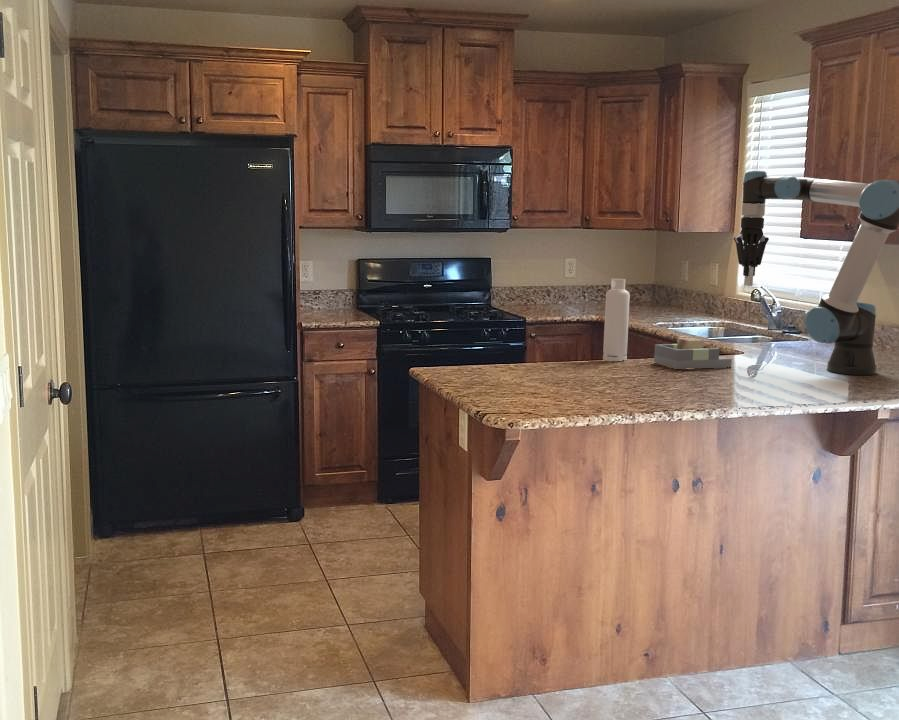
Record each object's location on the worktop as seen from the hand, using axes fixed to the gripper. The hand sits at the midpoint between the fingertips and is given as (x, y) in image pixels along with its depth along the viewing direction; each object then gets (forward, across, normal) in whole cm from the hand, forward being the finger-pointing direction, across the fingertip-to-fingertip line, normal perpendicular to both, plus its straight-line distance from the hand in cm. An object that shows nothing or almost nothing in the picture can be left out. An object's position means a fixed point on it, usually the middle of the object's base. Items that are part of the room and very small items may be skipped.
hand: (748, 285), depth 338 cm
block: (+23, +25, +5) cm, 35 cm away
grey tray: (+26, +24, +5) cm, 36 cm away
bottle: (+27, +44, -12) cm, 53 cm away
